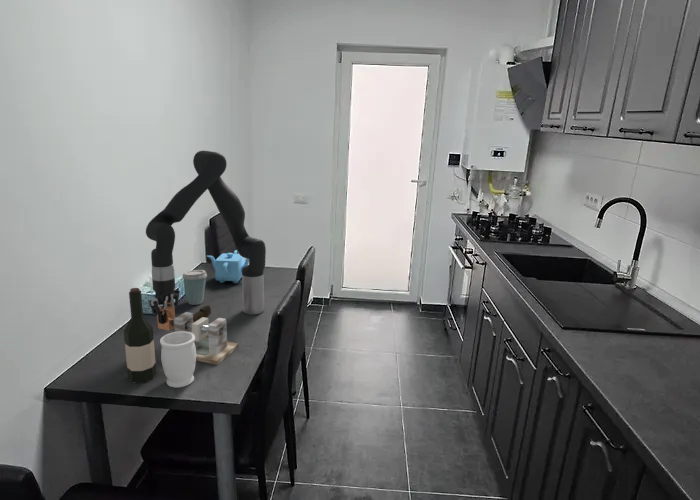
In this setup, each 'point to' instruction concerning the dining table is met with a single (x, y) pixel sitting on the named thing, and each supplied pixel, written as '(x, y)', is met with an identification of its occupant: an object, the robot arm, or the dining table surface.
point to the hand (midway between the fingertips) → (166, 320)
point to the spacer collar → (199, 328)
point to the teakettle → (229, 267)
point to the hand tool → (202, 313)
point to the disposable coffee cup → (195, 286)
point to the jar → (178, 358)
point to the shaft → (170, 320)
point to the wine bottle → (139, 342)
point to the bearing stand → (209, 339)
